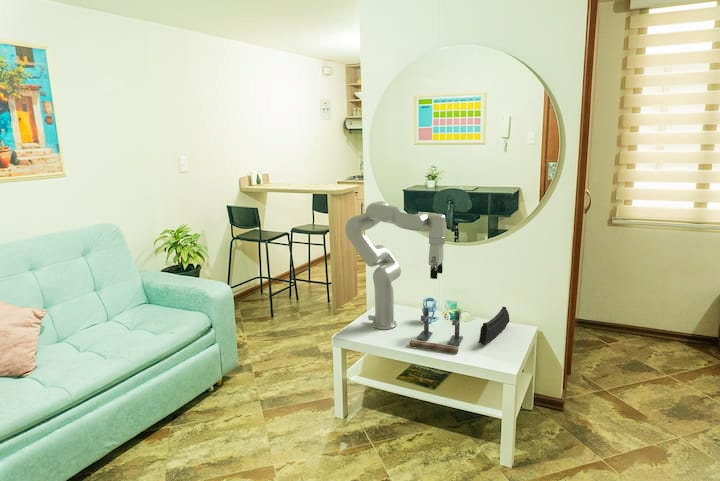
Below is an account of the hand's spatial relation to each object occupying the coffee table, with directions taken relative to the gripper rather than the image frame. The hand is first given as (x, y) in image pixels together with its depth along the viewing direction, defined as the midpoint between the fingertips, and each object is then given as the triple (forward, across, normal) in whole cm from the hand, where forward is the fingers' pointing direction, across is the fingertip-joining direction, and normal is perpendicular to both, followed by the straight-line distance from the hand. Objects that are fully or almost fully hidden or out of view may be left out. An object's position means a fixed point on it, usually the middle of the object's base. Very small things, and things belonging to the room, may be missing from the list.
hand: (436, 275), depth 230 cm
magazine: (+31, -11, +26) cm, 42 cm away
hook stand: (+30, +4, +3) cm, 31 cm away
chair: (+31, -18, -8) cm, 36 cm away
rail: (+30, +15, +3) cm, 33 cm away
